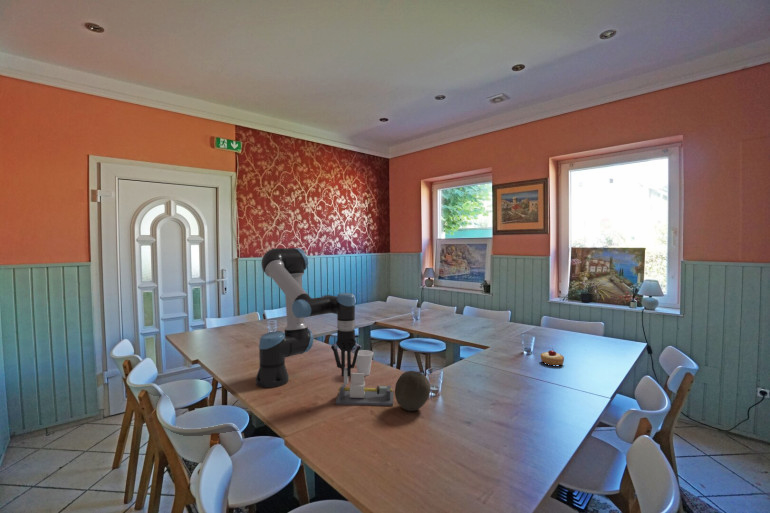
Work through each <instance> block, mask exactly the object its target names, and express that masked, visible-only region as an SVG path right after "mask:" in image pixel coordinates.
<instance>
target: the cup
mask: <svg viewBox="0 0 770 513" xmlns="http://www.w3.org/2000/svg"><path fill="white" fill-rule="evenodd" d="M353 353H354V354H355V352H353ZM373 356H374V351H372V350H368V349H365V350H364V349H359V351H358V355H357V359H356V363H355V366H356V370H357V372H356V373H364V377H366V376H369V375H370V374H371V368H372V361H373Z"/></svg>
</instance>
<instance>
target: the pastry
mask: <svg viewBox="0 0 770 513" xmlns="http://www.w3.org/2000/svg"><path fill="white" fill-rule="evenodd" d="M551 349H552V350H548V351H545V352H542V353H541V354H540V360H541V362H542V363H543V362H544V363H546V364H549V365H561V366H562V365H563V364H564V361H565V356H564V355H562V354H560V353H557V352H556V351H555V350H554V348H551ZM544 363H543V364H544ZM546 364H545V365H546ZM549 365H548V366H549Z"/></svg>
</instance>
